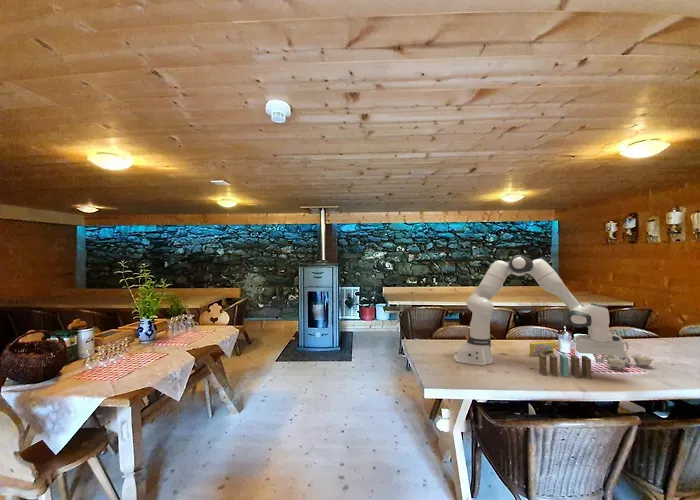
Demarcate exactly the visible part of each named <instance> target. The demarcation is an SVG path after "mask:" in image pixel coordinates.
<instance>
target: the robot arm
mask: <svg viewBox="0 0 700 500" xmlns="http://www.w3.org/2000/svg"><path fill="white" fill-rule="evenodd" d="M527 274H528V275H530V276H531V277H532V278H533V279H534V280H535V281H536V283H537V284H538V286H540V288H541V289H543V291H545V292H547V293H550V294H553V295H554V296H556V297H558V298H559V299H560V300H561V301H562V303H564V305H565V307H567V308H568V310H569V311H567V313H566V315H565V319H566V322H567V323H568V324H569V325H571V326H572V327H575V328H588V329H587V333H588V334H578V335H576V336H575V343H576V344H575V350H576V351H577V352H578V354H586V355H587V354H590V355H593V357H594V358H595V363H598V364H605V359H606V357H607V355H620V356H623V355H624V353H625V351H626V350H625V345H623V343H622V342H620V341H623V337H621V336H619V335H617V334H614V333H612V332H611V330H610V327H609V325H610V314H609V313H610V311H609V309H608V308H607V307H606V306H605V305H602V304H599V303H589V304H587V305H583V304H582V303H581V302H580V301H579V300H578V299H577V297H575V295H574V294H573V293H572V292H571V291H570V290H569V289H568V287H567V286H566V284H565V283H564V281H563V280H562V278H561V277H560V276H559V274H558V273H557V272H556V270H555V269H554V268H553V267H552V266H551V265H550V264H549V263H548V262H547V261H546V260H544V259H543V258H536V259H532V258H529V257H526V256H525V255H522V254H516V255H513V256H512V257H511V258H510V259H508V261H504V260H498V259H497V260H495V261H493V263H492V264H491V265H490V267H489V268H488V270H487V271H486V273H485V275H484V276H483V278H482V279H481V281H480V283H479V285H478V286H477V287H476V289H475V290H473V292H472V293H471V295H470V296H468V297H467V298H466V303H465V304H466V306H467V308H468V310H469V311H471V312H472V315H471V320H470V322H469V330H470V331H469V333H470V335H466V336H465V339H466V342H465V343H463V344H462V345H460V346H459V348H458V350H457V353H455V354H454V355H453V360H454V361H455V362H457V363H460V364H461V363H462V364H468V365H469V364H470V365H475V366H476V365H477V366H486V365H490V364H493V363H494V359H493V356H492V349H491V347H492V338H491V334H490V333H491V330H490V329H491V328H490V327H491V326H490V325H491V319H492V315H493V313H494V309H495V307H494V304H493V303H492V301H491V300H492V299H493V297H494V296H496V295H497V294H499V291H500V290H501V288H502V286H503V284H504V282H505V281H506V279H507V277H508V276H514V277H524V276H525V275H527ZM599 355H600V356H601V357H600V358H598V357H599Z"/></svg>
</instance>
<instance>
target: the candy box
mask: <svg viewBox="0 0 700 500" xmlns="http://www.w3.org/2000/svg"><path fill="white" fill-rule="evenodd" d="M554 343H555V342H554V341H541V342H530V343H529V357H531V358H532V357H533V358H534V357H539V353H543V354H544V355H545V356H549V354H554Z"/></svg>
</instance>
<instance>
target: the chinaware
mask: <svg viewBox="0 0 700 500" xmlns="http://www.w3.org/2000/svg"><path fill="white" fill-rule="evenodd" d="M620 342H622V343H623V345H624V344H625V345H626V346H625V345H624V346H625V347H626V349H625V350H624V351H625V353H624V355H623V356H620V355H606V358H605V359H606V361H604V365H605V366H606V367H607V368H609V367H610V369H615V370H614V371H618V370H620V371H621V370H622V369H624V368H626V367H628V365H629V364H630V363H631V359H630V358H629V356H628V353H627V352H628V350H629V344H628V342H627V341H624V340H622V341H620ZM631 358H633V360H634V363H635V364H636V365H637V366H638V367H639V368H642V369H647V367H649V366H651V363H652V361H654V359H653V358H651V357H649V356H642V355H637V354H636V355H634V356H633V355H631ZM606 363H608V364H609V366H608V365H606Z"/></svg>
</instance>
